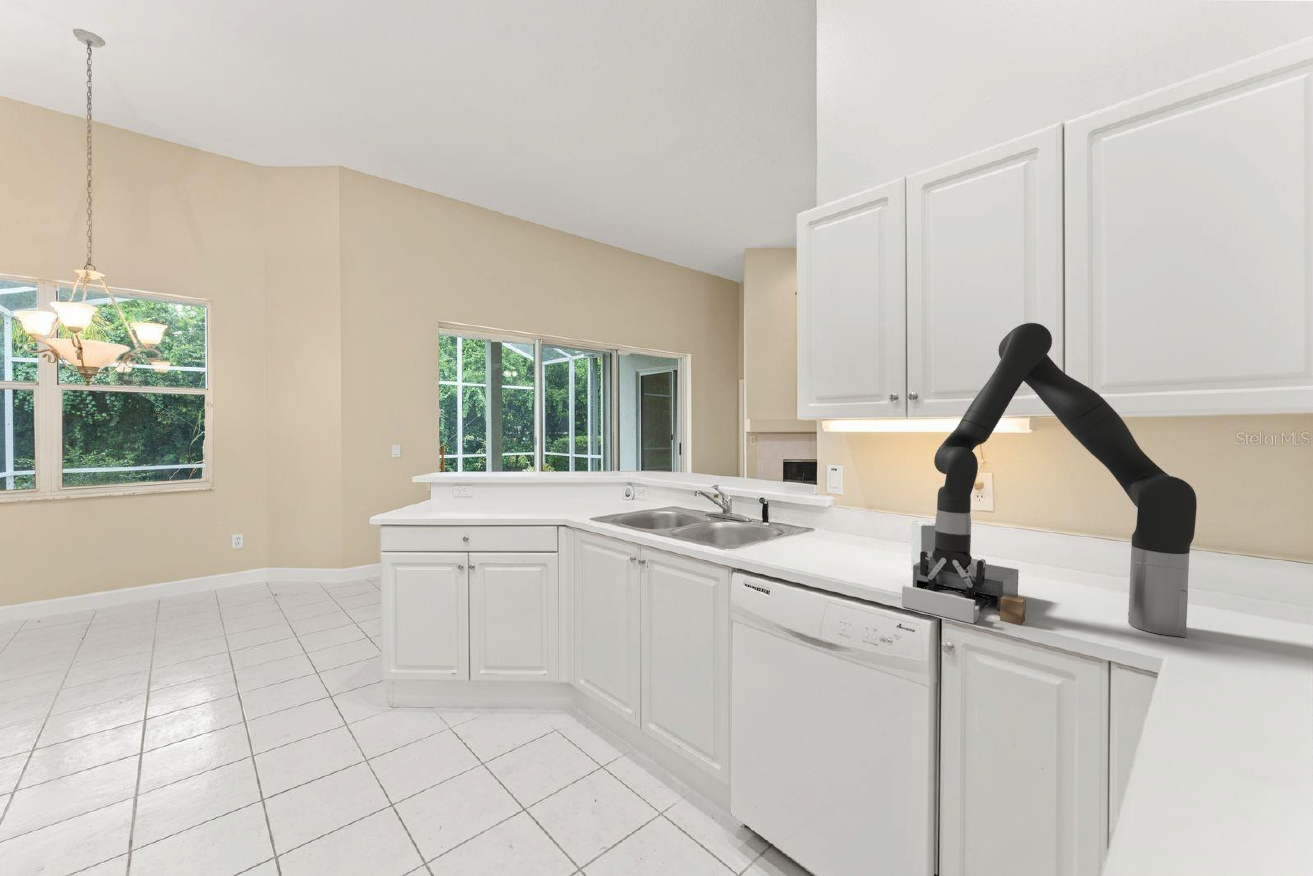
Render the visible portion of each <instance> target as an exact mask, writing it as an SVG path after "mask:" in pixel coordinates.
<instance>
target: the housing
mask: <svg viewBox="0 0 1313 876" xmlns="http://www.w3.org/2000/svg"><path fill="white" fill-rule="evenodd" d="M936 565H937V563H936V561H935V560H934V558H933V556H932V557H931V559H930V560H929V571H930V572H931V571H932V570H933V568H934V567H935V566H936ZM967 568H968V569H969V571H970V573H971V576H972V578H973V579H974V580H976V572H977V569H975V568H974V565H973V564H972V563H971V564H970V565H969V566H968V567H967ZM1019 572H1020V571H1019V569H1018V568H1013V567H1012V568H1011V567H1005V566H1002V565H1001V566H1000V565H995V564H994V565H993V564H988V563H986V566H985V581H984V584H983V585H982V586H980V587H979V586H977V587H975V593H978V594H979V593H980V594H985V595H989V596H994V597H997V608H996V609H997V610H996V611H997V612H1000V604H1001V597H1003V596H1004V595H1005V594H1006V595H1011V596H1016V597H1019V596H1018V595H1019V594H1018V593H1019V592H1018V591H1019ZM936 579H937V585H941V586H945V587H950V588H956V589H961V590H965V591H966V587H967V584H966V583H965V581H964V579H962V577H961V576H960V574H959V573H958V574H955V573H952V572H944V571H943V570H942V571H941V572H940V573H939V574H938V575H937V576H936ZM912 587H915V588H920V589H927V588H928V578H927V577H925V576H922V575H921V574H920V562H919V563H917V564H915V565H913V570H912Z"/></svg>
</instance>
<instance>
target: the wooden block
mask: <svg viewBox="0 0 1313 876" xmlns="http://www.w3.org/2000/svg"><path fill="white" fill-rule="evenodd" d="M1026 603H1027V598H1025V597H1020V596H1018V597H1016V596H1011V595H1006V594H1005V595H1004V596H1003V597H1001V604H1000V611H999V621H1001V622H1005V623H1010V624H1013V625H1018V626H1022V625H1023V624H1024V623H1025V622H1026V609H1027V607H1026V605H1027V604H1026Z"/></svg>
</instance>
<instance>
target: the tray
mask: <svg viewBox="0 0 1313 876" xmlns="http://www.w3.org/2000/svg"><path fill="white" fill-rule="evenodd" d="M901 589H902V590H901V591H902V593H901V596H902V597H901V607H902V608H908V609H910V610H915V611H920V612H923V613H929V614H932V615H936V616H940V617H945V618H948V619H953V620H957V621H961V622H965V623H970V624H974V623H976V622H977V621H978V620H979V619H980V613H981V612H982V611H983V610H984V609H985V608H986V607H987V606H989V605H990V597H989V596H984V595H980V594H975V598H974V600H971V599H967V598H966V591H961V590H956V589H951V588H947V587H942V586H937V591H941V590H948V591H955V592H959V593H962V594H964V595H965V598H962V597H957V596H953V595H948V594H943V593H939V592H934V591H929V590H928V587H926V588H924V589H920V588H915V587H913V586H910V585H906V584H904V585H902V588H901Z"/></svg>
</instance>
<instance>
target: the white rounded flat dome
mask: <svg viewBox="0 0 1313 876" xmlns="http://www.w3.org/2000/svg"><path fill="white" fill-rule="evenodd" d="M937 592H939V593H943V594H948V595H953V596H957V597H962V598H965V595H964V594H962V593H959V592H955V591H948V590H941V591H937Z"/></svg>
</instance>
